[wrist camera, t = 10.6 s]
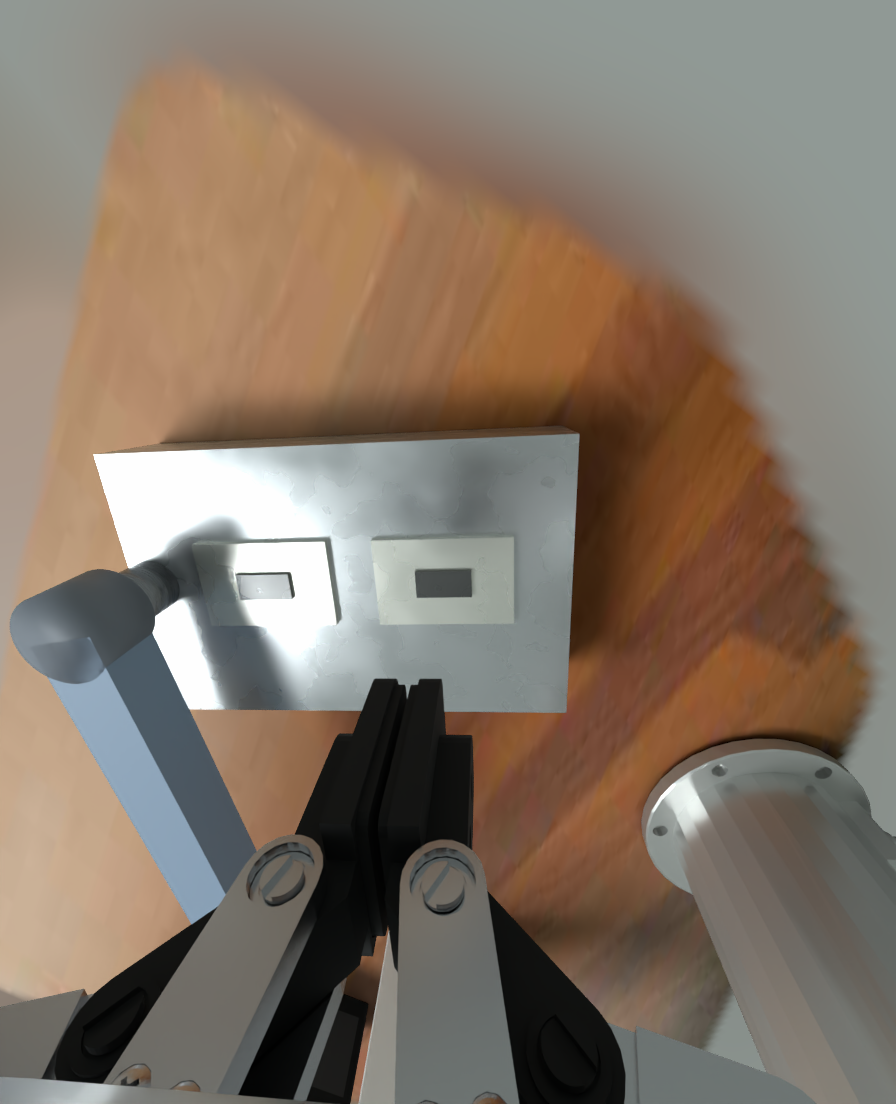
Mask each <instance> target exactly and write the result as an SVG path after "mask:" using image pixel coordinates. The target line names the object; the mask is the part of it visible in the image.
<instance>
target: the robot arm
mask: <svg viewBox="0 0 896 1104" xmlns="http://www.w3.org/2000/svg"><path fill="white" fill-rule="evenodd" d="M473 797H474V771H473V742H472V735H446V729H445V713H444V698H443V683H442V679H419V682H418V685H411V686H410V690H409V694H408V698H407V693H406V686H405V685H399V684H398V680H397V679H394V678H375V679H374V680H373V682H372V685H371V688H370V690H369V693H368V696H367V698H366V701H365V704H364V706H363V709H362V712H361V714H360V717H359V719H358V722H357V725H356V727H355V730H354V733H353V734H339V735H338V736H337V737H336V739H335V741H334V743H333V745H332V748H331V750H330V752H329V755H328V757H327V759H326V762H325V764H324V767H323V769H322V771H321V774H320V776H319V778H318V781H317V783H316V785H315V788H314V790H313V793H312V795H311V797H310V800H309V802H308V804H307V807H306V809H305V811H304V814H303V816H302V819H301V821H300V823H299V826H298V828H297V830H296V833H295V835H287V836H283V837H279V838H277V839H275V840H273V841H271V842H269V843H267V844H265V845H264V846H263V847H262V848H260V849H259V850H258V851H257V852H256V853H254V855H253V856H252V857H251V858H250V859H249V861H248V862H247V863H246V864H245V866H244V867H243V869H242V870H241V872H240V873H239V875H238V876H237V878H236V880H235V881H234V883H233V884H232V886H231V887H230V889H229V890H228V892H227V893H226V895H225V897H224V898H223V900H222V901H221V903H220V904H219V906H218V907H216V908H215V909H213V910H212V911H210V912H209V913H207V914H206V915H205V916H203V917H202V918H200V919H199V920H197V921H196V922H194V923H193V924H191V925H190V926H189V927H187V928H186V929H184V930H183V931H181V932H180V933H178V934H177V935H175V936H174V937H172V938H171V939H170V940H168V941H167V942H165V943H164V944H162V945H161V946H159V947H158V948H156V949H155V950H154V951H152V952H151V953H149V954H148V955H146V956H145V957H143V958H142V959H140V960H139V961H137V962H136V963H135V964H133V965H132V966H130V967H129V968H127V969H126V970H124V971H123V972H121V973H120V974H119V975H117V976H116V977H114V978H113V979H111V980H110V981H109V982H108V983H106V984H105V985H104V986H103V987H102V988H100V989H99V990H98V991H97V992H95V993H94V994H91V995H87V993H86V991H85V990H84V989H81V990H76V991H72V992H67V993H63V994H58V995H54V996H49V997H44V998H40V999H35V1000H31V1001H27V1002H22V1003H17V1004H12V1005H8V1006H4V1007H0V1104H332V1103H320V1102H309V1101H306V1099H307V1096H308V1094H309V1091H310V1088H311V1085H312V1082H313V1079H314V1076H315V1074H316V1071H317V1068H318V1065H319V1062H320V1059H321V1056H322V1054H323V1051H324V1048H325V1045H326V1042H327V1039H328V1037H329V1034H330V1031H331V1028H332V1025H333V1022H334V1019H335V1017H336V1014H337V1011H338V1008H339V1005H340V1002H341V999H342V997H343V993H344V988H345V984H346V977H347V976H348V975H349V974H350V973H351V972H353V971H354V970H355V969H356V968H357V967H358V966H359V965H360V961H361V956H373V953H374V947H375V942H376V937H377V936H385V935H386V932H387V927H388V928H389V935H390V942H391V949H392V956H393V963H394V968H395V969H396V971H397V972H398V983H397V1024H396V1064H395V1104H896V837H892V836H891V835H890V834H889V833H887V832H885V831H883V830H882V829H881V828H880V827H879V826H878V824H877V823H875V821H874V820H873V819H872V818H871V810H870V803H869V800H868V798H867V796H866V794H865V791H864V789H863V787H862V786H861V785H860V784H859V783H858V782H857V781H856V779H855V778H854V777H853V776H852V775H851V774H850V773H849V772H848V770H847V769H846V768H844V767H843V766H842V765H841V764H840V763H839V762H838V761H837V760H836V759H835V758H833V757H831V756H829V755H828V754H826V753H824V752H822V751H821V750H819V749H816V748H814V747H811V746H808V745H805V744H802V743H799V742H793V741H787V740H781V739H749V740H742V741H734V742H730V743H726V744H722V745H719V746H715V747H711V748H709V749H707V750H704V751H702V752H700V753H697V754H695V755H693V756H691V757H689V758H688V759H686V760H685V761H683V762H681V763H680V764H678V765H677V766H675V767H674V768H673V769H672V770H671V771H670V772H668V773H667V774H666V775H665V776H664V777H663V778H662V779H661V780H660V781H659V782H658V784H657V785H656V786H655V788H654V789H653V790H652V792H651V793H650V795H649V797H648V799H647V802H646V804H645V806H644V810H643V815H642V820H641V823H642V835H643V838H644V841H645V844H646V847H647V850H648V853H649V855H650V857H651V859H652V861H653V863H654V865H655V867H656V868H657V869H658V870H659V871H660V872H661V873H662V875H663V876H664V877H665V878H667V879H668V880H669V881H670V882H672V883H673V884H674V885H676V886H677V887H679V888H681V889H683V890H685V891H687V892H688V893H691V894H693V896H694V898H695V901H696V903H697V906H698V908H699V910H700V913H701V915H702V918H703V920H704V923H705V925H706V927H707V930H708V932H709V935H710V937H711V939H712V942H713V944H714V947H715V949H716V952H717V954H718V956H719V959H720V961H721V964H722V966H723V969H724V971H725V973H726V976H727V978H728V981H729V983H730V985H731V988H732V990H733V993H734V995H735V997H736V1000H737V1002H738V1005H739V1007H740V1010H741V1012H742V1015H743V1017H744V1019H745V1022H746V1024H747V1027H748V1029H749V1031H750V1034H751V1036H752V1039H753V1041H754V1043H755V1046H756V1048H757V1051H758V1053H759V1056H760V1058H761V1061H762V1063H763V1065H764V1068H765V1070H766V1072H762V1071H760V1070H757V1069H754V1068H752V1067H749V1066H746V1065H743V1064H740V1063H738V1062H735V1061H732V1060H729V1059H726V1058H724V1057H721V1056H718V1055H715V1054H713V1053H710V1052H707V1051H704V1050H702V1049H699V1048H696V1047H693V1046H690V1045H688V1044H685V1043H682V1042H679V1041H676V1040H674V1039H671V1038H668V1037H665V1036H663V1035H660V1034H657V1033H654V1032H651V1031H649V1030H646V1029H643V1028H640V1027H638V1026H636V1030H635V1033H634V1032H631V1031H629V1030H626V1029H623V1028H621V1027H618V1026H615V1025H612V1024H610V1023H607V1022H606V1020H605V1019H604V1018H603V1016H602V1015H601V1014H600V1012H599V1011H598V1010H597V1009H596V1008H595V1006H594V1005H593V1004H592V1003H591V1002H590V1001H589V1000H588V999H587V998H586V997H585V996H584V995H583V994H582V992H581V991H580V990H579V989H578V988H577V987H576V986H575V985H574V984H573V983H572V982H571V981H570V980H569V978H568V977H567V976H566V975H565V974H564V973H563V972H562V971H561V970H560V969H559V968H558V967H557V966H556V964H555V963H554V962H553V961H552V960H551V959H550V958H549V957H548V956H547V955H546V954H545V953H544V952H543V950H542V949H541V948H540V947H539V946H538V945H537V944H536V943H535V942H534V941H533V940H532V939H531V937H530V936H529V935H528V934H527V933H526V932H525V931H524V930H523V929H522V928H521V927H520V926H519V925H518V923H517V922H516V921H515V920H514V919H513V918H512V917H511V916H510V915H509V914H508V913H507V912H506V911H505V909H504V908H503V907H502V906H501V905H500V904H499V903H498V902H497V901H496V900H495V899H494V898H493V897H492V895H491V894H490V893H489V892H488V891H487V886H486V879H485V874H484V870H483V867H482V864H481V862H480V860H479V859H478V857H477V856H476V854H475V853H474V852H473V851H472V838H473Z"/></svg>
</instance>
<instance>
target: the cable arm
mask: <svg viewBox="0 0 896 1104" xmlns="http://www.w3.org/2000/svg"><path fill="white" fill-rule="evenodd" d="M155 620H156V618H155V612H154V608H153V606H152V603H151V601H150V599H149V598H148V596H147V595H146V593H145V592H144V591H143V590H142V589H141V588H140V587H139V586H138V585H137V584H136V583H135V582H134V581H132V580H131V579H129V578H128V577H126V576H124V575H122V574H120V573H117V572H114V571H110V570H104V569H97V570H91V571H87V572H85V573H83V574H81V575H79V576H76V577H74V578H72V579H70V580H68V581H66V582H63V583H61V584H59V585H57V586H55V587H53V588H50V589H48V590H46V591H44V592H42V593H40V594H37V595H35V596H33V597H31V598H29V599H27V600H24V601H23V602H21V603H20V604H19V605H18V606H17V607H16V608H15V609H14V611H13V613H12V615H11V619H10V633H11V637H12V639H13V642H14V644H15V646H16V648H17V650H18V651H19V653H20V654H21V655H22V657H23V658H24V659H25V660H26V661H27V662H28V663H29V664H30V665H31V666H32V667H33V668H35V669H36V670H37V671H39V672H40V673H42V674H43V675H45V676H47V677H48V679H49V681H50V682H51V684H52V686H53V688H54V689H55V691H56V693H57V694H58V696H59V698H60V700H61V701H62V703H63V705H64V706H65V708H66V710H67V712H68V713H69V715H70V717H71V718H72V720H73V722H74V724H75V725H76V727H77V729H78V730H79V732H80V734H81V736H82V737H83V739H84V741H85V742H86V744H87V746H88V748H89V749H90V751H91V753H92V754H93V756H94V758H95V760H96V761H97V763H98V765H99V766H100V768H101V770H102V772H103V773H104V775H105V777H106V778H107V780H108V782H109V784H110V785H111V787H112V789H113V790H114V792H115V794H116V796H117V797H118V799H119V801H120V802H121V804H122V806H123V808H124V809H125V811H126V813H127V814H128V816H129V818H130V820H131V821H132V823H133V825H134V826H135V828H136V830H137V832H138V833H139V835H140V837H141V838H142V840H143V842H144V844H145V845H146V847H147V849H148V850H149V852H150V854H151V856H152V857H153V859H154V861H155V862H156V864H157V866H158V868H159V869H160V871H161V873H162V874H163V876H164V878H165V880H166V881H167V883H168V885H169V886H170V888H171V890H172V892H173V893H174V895H175V897H176V898H177V900H178V902H179V904H180V905H181V907H182V909H183V910H184V912H185V914H186V916H187V917H188V919H189V921H190V922H191V924H193V923H194V922H196V921H197V920H199V919H200V918H202V917H203V916H205V915H206V914H207V913H209V912H210V911H212V910H213V909H215V908H216V907H218V906H219V904H220V903H221V901H222V900H223V898H224V897H225V895H226V893H227V892H228V890H229V889H230V887H231V886H232V884H233V883H234V881H235V880H236V878H237V876H238V875H239V873H240V872H241V870H242V869H243V867H244V866H245V864H246V863H247V862H248V861H249V859H250V858H251V857H252V856H253V855H254V853H256V852H257V851H256V849H255V847H254V845H253V843H252V840H251V838H250V836H249V834H248V832H247V830H246V828H245V826H244V824H243V822H242V819H241V817H240V815H239V813H238V811H237V809H236V807H235V805H234V803H233V800H232V798H231V796H230V794H229V792H228V790H227V788H226V786H225V784H224V782H223V779H222V777H221V775H220V773H219V771H218V769H217V767H216V765H215V763H214V761H213V758H212V756H211V754H210V752H209V750H208V748H207V746H206V744H205V742H204V740H203V737H202V735H201V733H200V731H199V729H198V727H197V725H196V723H195V721H194V719H193V716H192V714H191V712H190V710H189V708H188V706H187V704H186V702H185V700H184V698H183V695H182V693H181V691H180V689H179V687H178V685H177V683H176V681H175V679H174V676H173V674H172V672H171V670H170V668H169V666H168V664H167V662H166V660H165V658H164V655H163V653H162V651H161V649H160V647H159V645H158V643H157V641H156V639H155V637H154V634H153V631H154V628H155Z"/></svg>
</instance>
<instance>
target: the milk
mask: <svg viewBox="0 0 896 1104" xmlns="http://www.w3.org/2000/svg"><path fill="white" fill-rule="evenodd" d="M397 983H398V972H397V971H396V969H395V968H394V963H393V956H392V949H391V942H390V935H389V933H388V939H387V944H386V950H385V956H384V961H383V967H382V973H381V979H380V984H379V990H378V996H377V1002H376V1007H375V1013H374V1019H373V1024H372V1030H371V1036H370V1042H369V1047H368V1053H367V1059H366V1064H365V1070H364V1076H363V1082H362V1087H361V1093H360V1099H359V1104H395V1064H396V1024H397Z"/></svg>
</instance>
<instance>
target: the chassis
mask: <svg viewBox="0 0 896 1104" xmlns="http://www.w3.org/2000/svg"><path fill="white" fill-rule="evenodd" d="M578 455H579V433H577V432H575V431H573V430H571V429H569V428H566V427H564V426H542V427H519V428H497V429H475V430H452V431H430V432H408V433H385V434H363V435H341V436H318V437H296V438H274V439H252V440H229V441H207V442H185V443H162V444H153V445H147V446H142V447H136V448H130V449H124V450H118V451H112V452H106V453H101V454H95V455H94V458H95V461H96V464H97V467H98V470H99V474H100V477H101V480H102V483H103V487H104V490H105V493H106V496H107V499H108V503H109V506H110V509H111V512H112V515H113V519H114V522H115V525H116V528H117V531H118V535H119V538H120V541H121V544H122V547H123V551H124V554H125V557H126V560H127V564H128V567H129V568H127V569H125V570H123V571H121V572H119V573H120V574H122V575H124V576H126V577H128V578H129V579H131V580H132V581H134V582H135V583H136V584H137V585H138V586H139V587H140V588H141V589H142V590H143V591H144V592H145V593H146V595H147V596H148V598H149V599H150V601H151V603H152V606H153V608H154V612H155V618H156V620H155V628H154V631H153V634H154V637H155V639H156V641H157V643H158V645H159V647H160V649H161V651H162V653H163V655H164V658H165V660H166V662H167V664H168V666H169V668H170V670H171V672H172V674H173V676H174V679H175V681H176V683H177V685H178V687H179V689H180V691H181V693H182V695H183V698H184V700H185V702H186V704H187V706H188V708H189V709H234V710H339V711H362V709H363V706H364V704H365V701H366V698H367V696H368V693H369V690H370V688H371V685H372V682H373V680H374V679H375V678H394V679H397V680H398V684H399V685H405V686H406V693H407V698H408V694H409V690H410V686H411V685H418V682H419V679H442V683H443V698H444V712H548V713H566V706H567V685H568V664H569V644H570V623H571V602H572V581H573V560H574V539H575V518H576V497H577V476H578Z"/></svg>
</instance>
